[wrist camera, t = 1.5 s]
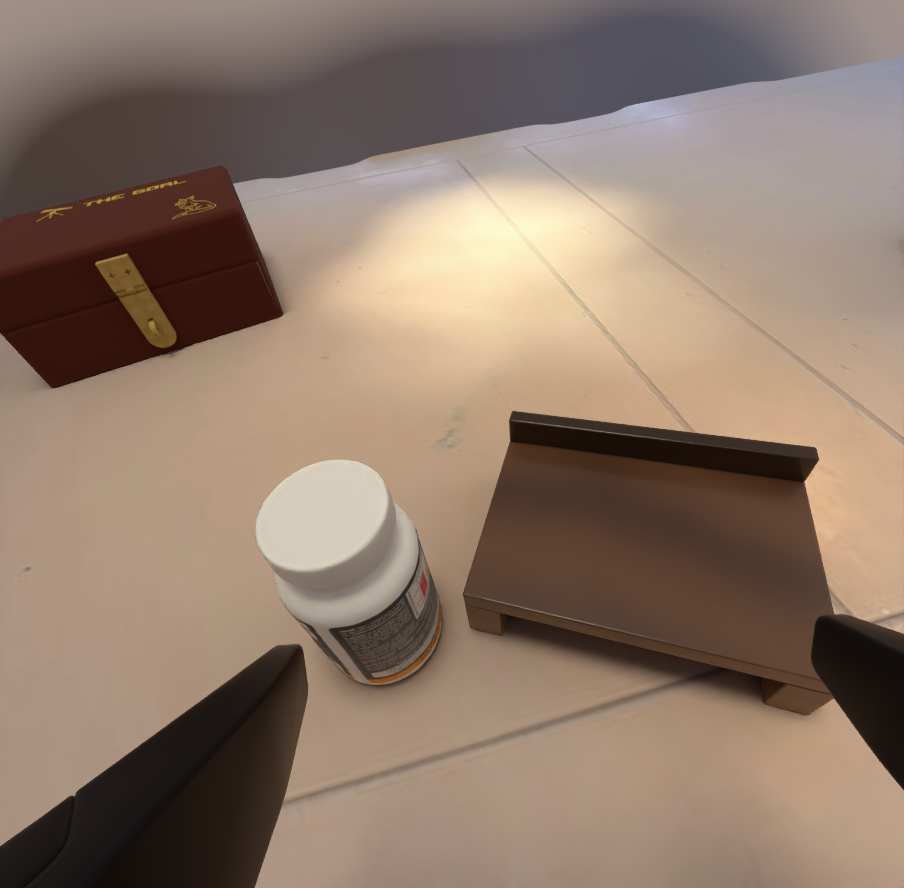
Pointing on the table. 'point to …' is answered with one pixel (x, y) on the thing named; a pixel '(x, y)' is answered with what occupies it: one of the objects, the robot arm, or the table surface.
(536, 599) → the shelf
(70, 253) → the box
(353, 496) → the pill bottle
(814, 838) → the table surface
